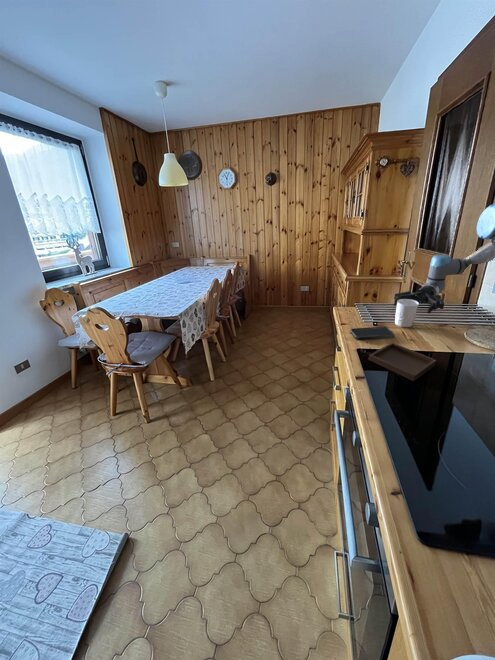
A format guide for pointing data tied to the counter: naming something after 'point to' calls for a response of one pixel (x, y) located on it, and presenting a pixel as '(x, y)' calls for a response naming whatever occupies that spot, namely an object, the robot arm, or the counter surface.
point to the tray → (402, 361)
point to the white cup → (406, 312)
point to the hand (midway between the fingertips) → (411, 306)
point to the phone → (372, 333)
